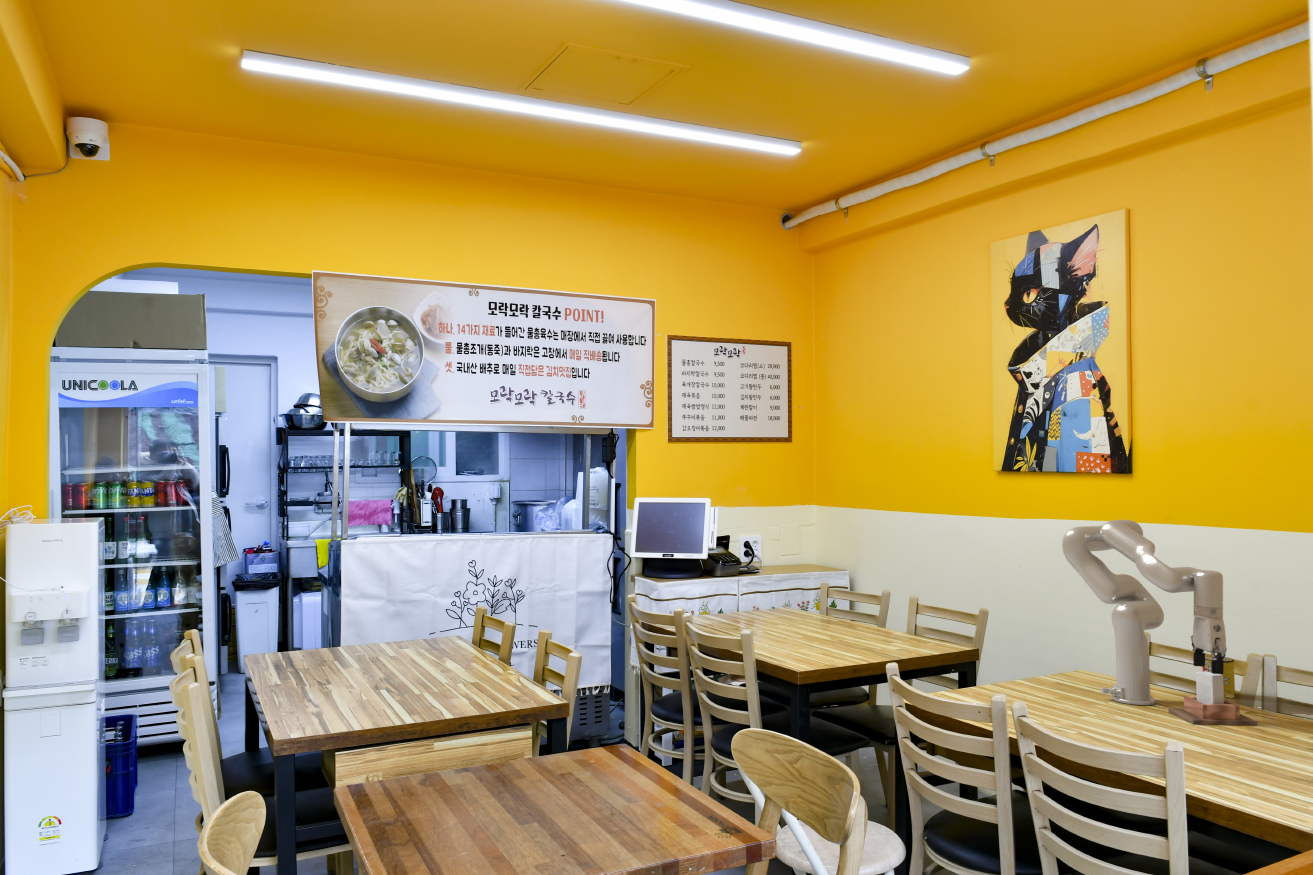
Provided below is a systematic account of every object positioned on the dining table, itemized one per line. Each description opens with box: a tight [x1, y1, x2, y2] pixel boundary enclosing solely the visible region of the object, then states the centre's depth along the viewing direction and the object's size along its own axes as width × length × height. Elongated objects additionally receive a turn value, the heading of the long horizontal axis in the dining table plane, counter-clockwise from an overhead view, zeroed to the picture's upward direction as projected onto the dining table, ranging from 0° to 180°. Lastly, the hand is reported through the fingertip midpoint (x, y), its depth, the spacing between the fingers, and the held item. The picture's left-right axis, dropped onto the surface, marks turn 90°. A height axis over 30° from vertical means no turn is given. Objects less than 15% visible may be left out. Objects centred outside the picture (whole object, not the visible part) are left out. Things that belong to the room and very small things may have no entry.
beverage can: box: [1201, 655, 1236, 699], centre depth 299 cm, size 9×9×12 cm
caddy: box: [1167, 696, 1258, 726], centre depth 269 cm, size 18×14×5 cm
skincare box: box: [1195, 671, 1225, 704], centre depth 270 cm, size 6×4×12 cm
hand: (1208, 669), depth 270 cm, fingers open, 9 cm apart
